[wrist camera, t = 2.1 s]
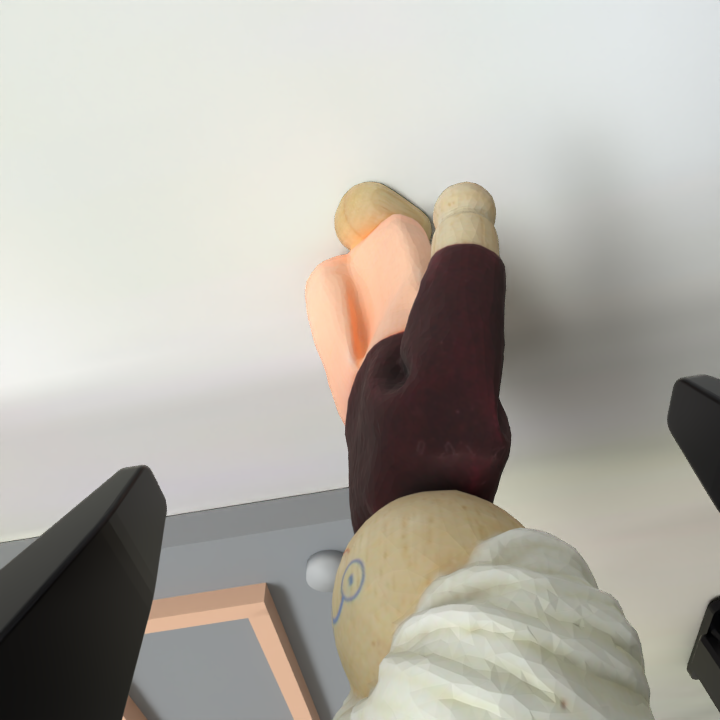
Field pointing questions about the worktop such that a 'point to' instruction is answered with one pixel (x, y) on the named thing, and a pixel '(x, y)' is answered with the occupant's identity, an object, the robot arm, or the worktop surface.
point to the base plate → (243, 613)
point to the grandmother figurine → (447, 489)
